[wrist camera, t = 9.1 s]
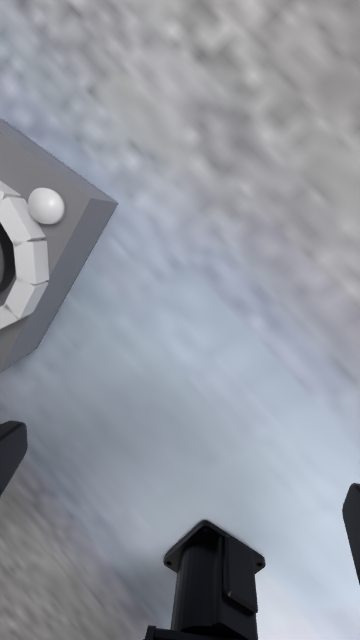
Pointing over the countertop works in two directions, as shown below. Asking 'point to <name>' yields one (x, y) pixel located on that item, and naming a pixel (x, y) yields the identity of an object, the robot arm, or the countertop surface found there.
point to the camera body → (42, 237)
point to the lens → (6, 259)
